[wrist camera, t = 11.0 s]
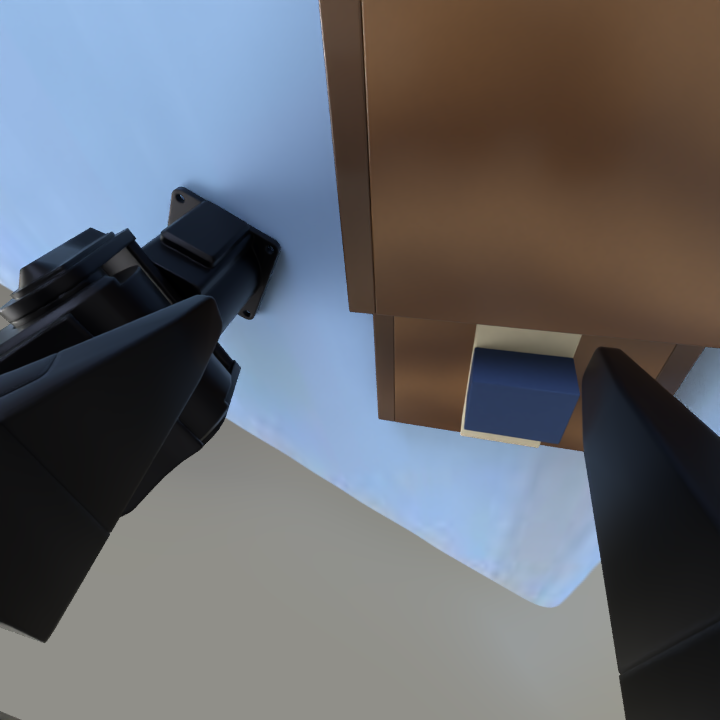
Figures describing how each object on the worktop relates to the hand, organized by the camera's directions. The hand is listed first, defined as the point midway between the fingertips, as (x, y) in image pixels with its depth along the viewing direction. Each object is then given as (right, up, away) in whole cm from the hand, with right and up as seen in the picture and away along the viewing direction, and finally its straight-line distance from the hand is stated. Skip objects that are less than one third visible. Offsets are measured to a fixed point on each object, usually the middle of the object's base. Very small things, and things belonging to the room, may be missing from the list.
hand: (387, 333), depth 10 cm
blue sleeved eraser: (+8, -1, +13) cm, 15 cm away
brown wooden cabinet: (+8, +4, +11) cm, 14 cm away
